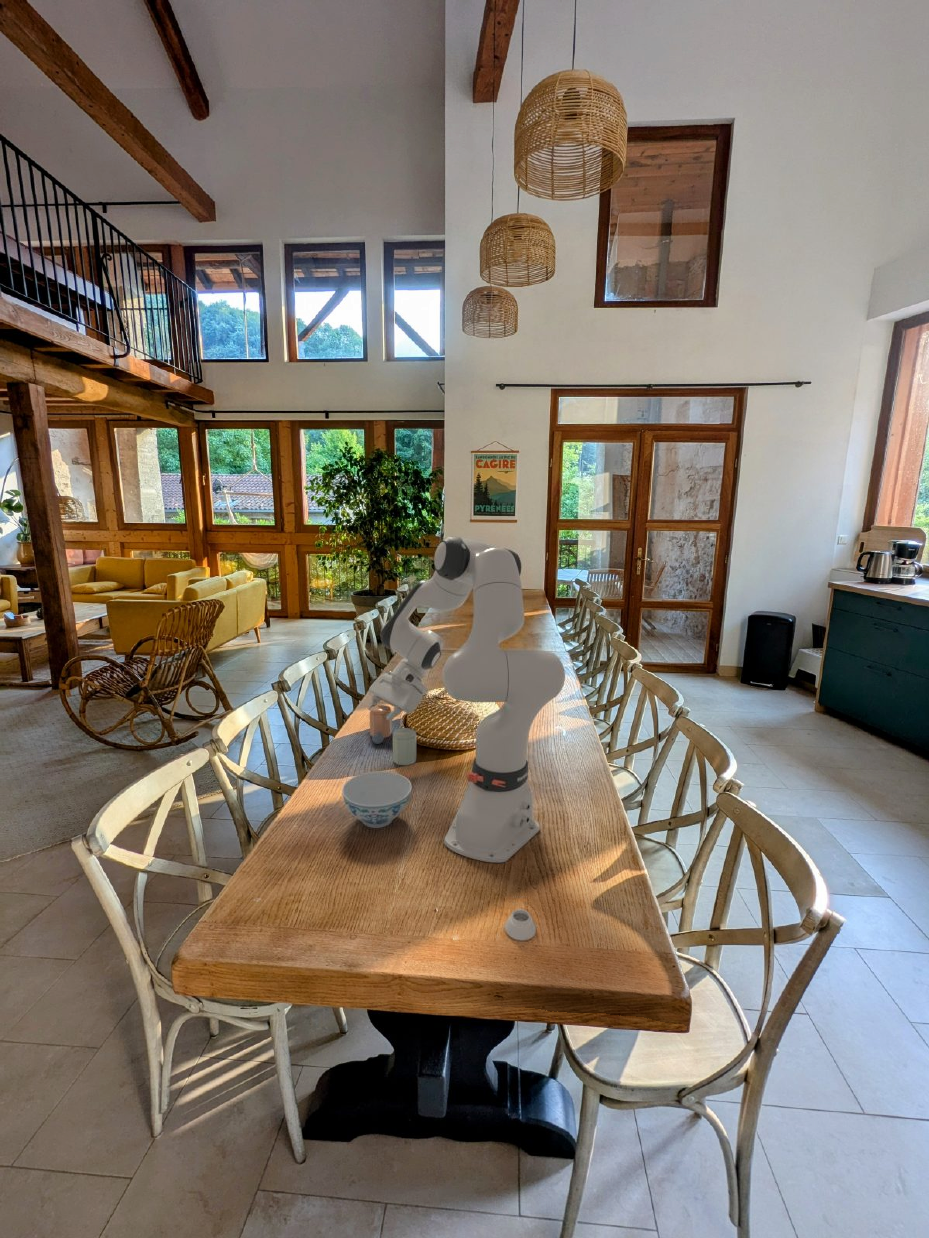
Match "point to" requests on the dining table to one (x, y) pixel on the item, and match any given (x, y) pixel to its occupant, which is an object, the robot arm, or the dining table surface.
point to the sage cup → (404, 746)
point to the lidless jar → (520, 925)
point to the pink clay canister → (380, 721)
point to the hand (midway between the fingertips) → (378, 715)
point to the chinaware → (377, 797)
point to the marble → (377, 738)
